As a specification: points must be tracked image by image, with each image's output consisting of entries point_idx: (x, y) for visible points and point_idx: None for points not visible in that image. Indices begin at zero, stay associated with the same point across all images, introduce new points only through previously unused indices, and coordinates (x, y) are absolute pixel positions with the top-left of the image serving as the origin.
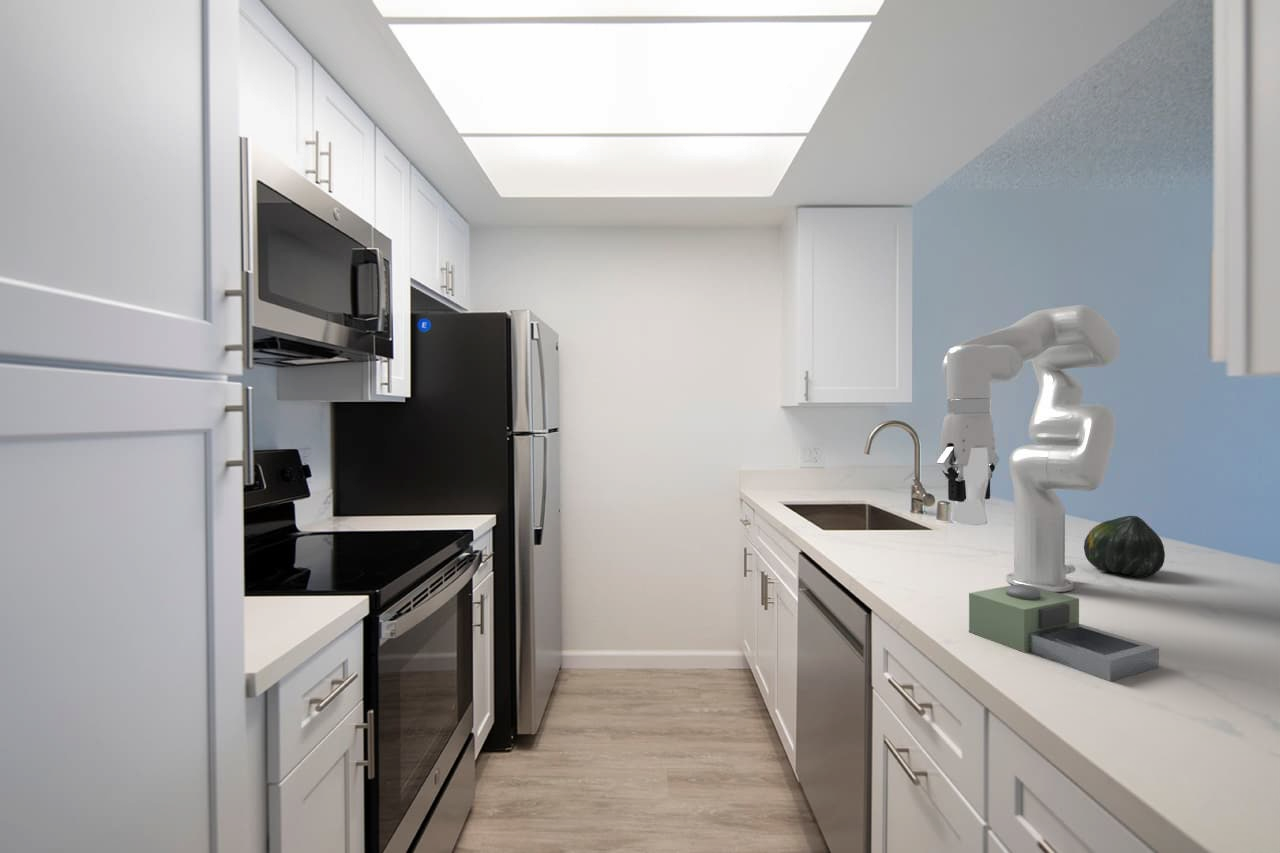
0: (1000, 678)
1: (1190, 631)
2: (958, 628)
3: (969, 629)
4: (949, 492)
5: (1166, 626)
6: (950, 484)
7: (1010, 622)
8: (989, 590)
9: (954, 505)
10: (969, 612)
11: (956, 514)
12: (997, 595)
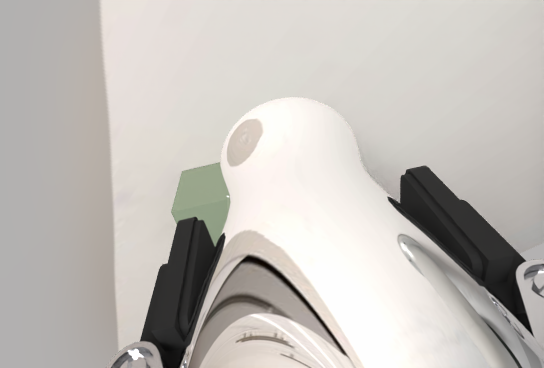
0: (130, 289)
1: (498, 212)
2: (173, 153)
3: (181, 174)
4: (158, 278)
5: (495, 194)
6: (148, 335)
7: None
8: (224, 204)
9: (233, 181)
10: (177, 190)
11: (224, 184)
12: (216, 231)
